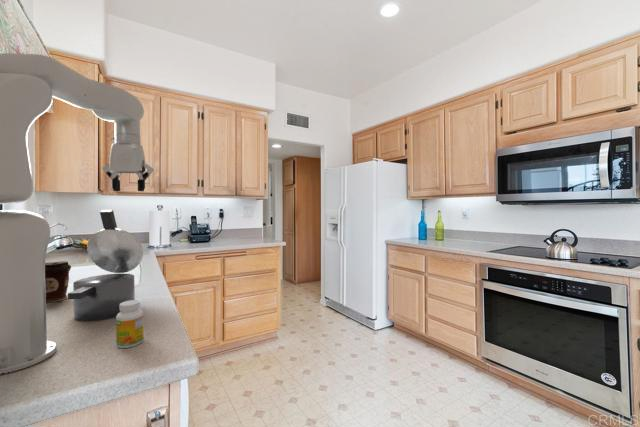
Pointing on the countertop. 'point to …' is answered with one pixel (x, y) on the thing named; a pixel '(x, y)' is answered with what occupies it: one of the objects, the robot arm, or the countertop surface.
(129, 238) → the cooker lid
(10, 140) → the robot arm
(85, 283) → the cooker pot
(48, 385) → the countertop surface
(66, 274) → the coffee cup
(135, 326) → the supplement bottle
